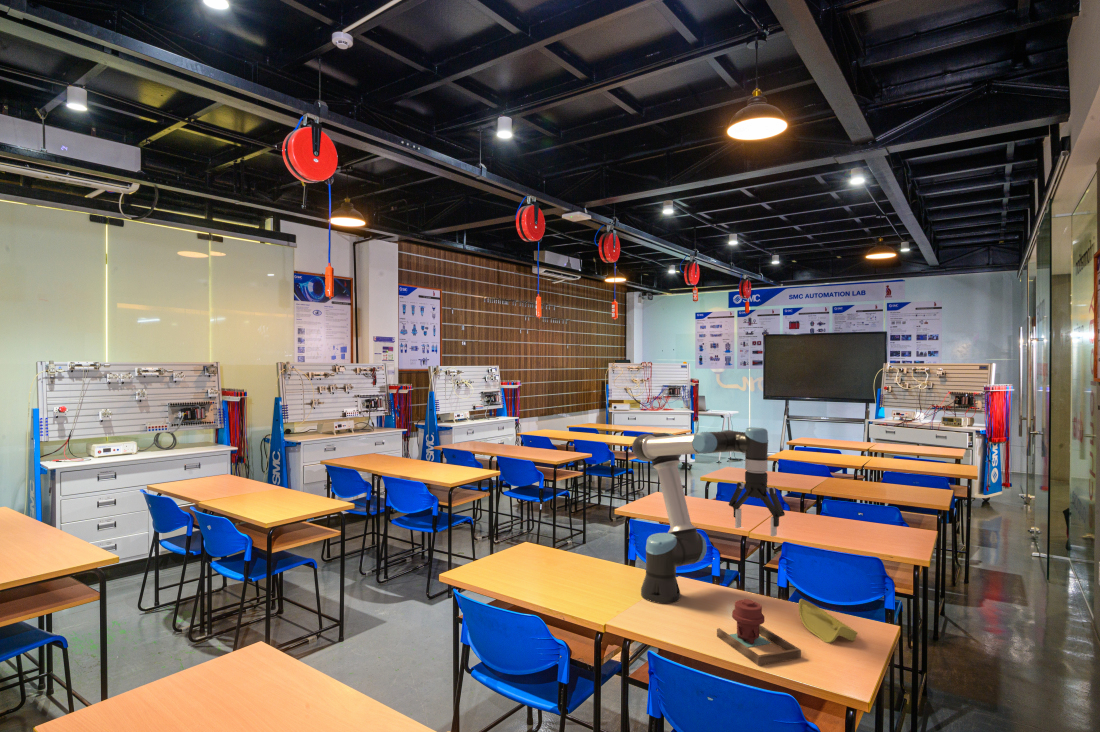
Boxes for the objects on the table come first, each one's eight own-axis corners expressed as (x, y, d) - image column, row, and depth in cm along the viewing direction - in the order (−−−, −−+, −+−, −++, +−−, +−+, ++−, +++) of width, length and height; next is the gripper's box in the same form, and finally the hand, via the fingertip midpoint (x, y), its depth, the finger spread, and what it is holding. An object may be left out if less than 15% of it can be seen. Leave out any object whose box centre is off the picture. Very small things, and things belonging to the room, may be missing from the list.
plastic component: (861, 634, 182) (838, 624, 179) (851, 655, 181) (829, 645, 179) (817, 606, 201) (797, 596, 199) (809, 625, 200) (788, 615, 198)
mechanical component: (762, 649, 174) (729, 642, 179) (765, 636, 183) (734, 630, 188) (762, 609, 175) (729, 603, 179) (766, 599, 184) (734, 593, 188)
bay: (716, 636, 183) (717, 628, 183) (756, 630, 189) (756, 622, 189) (758, 665, 164) (758, 657, 164) (801, 658, 170) (801, 649, 170)
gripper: (795, 475, 190) (794, 537, 189) (731, 465, 209) (730, 522, 209) (784, 477, 185) (783, 541, 185) (719, 467, 204) (718, 525, 204)
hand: (755, 531), depth 197 cm, fingers open, 13 cm apart
